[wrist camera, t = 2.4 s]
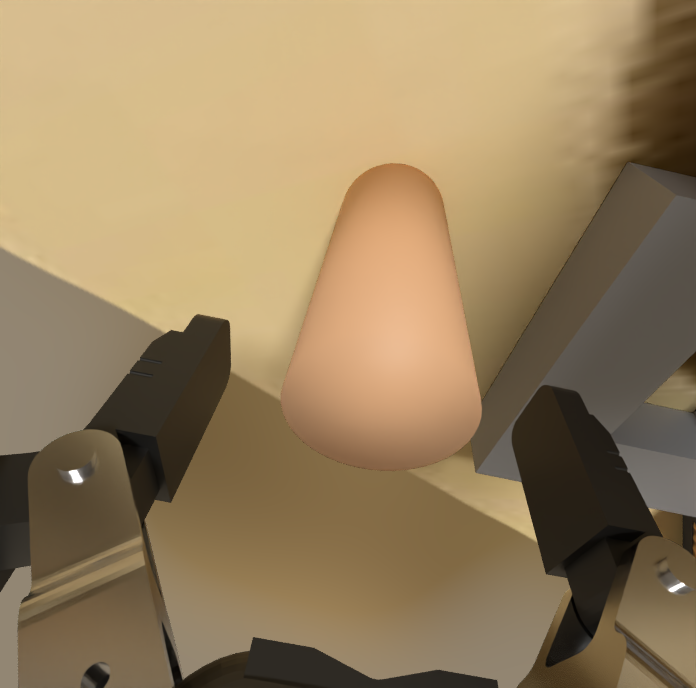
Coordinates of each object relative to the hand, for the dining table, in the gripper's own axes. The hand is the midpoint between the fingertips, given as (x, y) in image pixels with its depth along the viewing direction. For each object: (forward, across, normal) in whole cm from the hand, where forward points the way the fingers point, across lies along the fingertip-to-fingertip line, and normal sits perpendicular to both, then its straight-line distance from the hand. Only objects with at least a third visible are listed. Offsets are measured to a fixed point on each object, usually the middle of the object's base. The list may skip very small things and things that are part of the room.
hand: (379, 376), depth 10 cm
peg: (+9, 0, -1) cm, 9 cm away
